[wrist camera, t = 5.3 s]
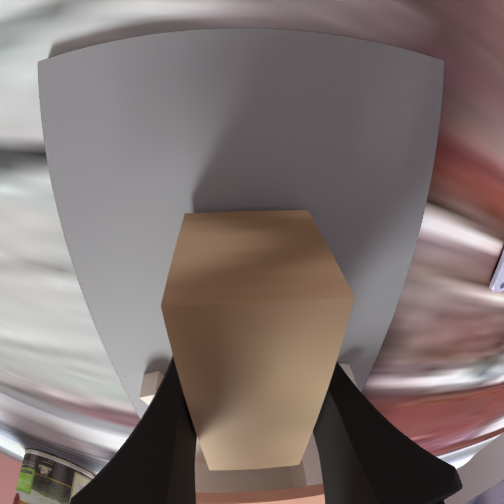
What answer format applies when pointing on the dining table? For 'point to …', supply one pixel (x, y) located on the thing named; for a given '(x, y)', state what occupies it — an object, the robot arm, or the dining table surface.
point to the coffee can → (49, 479)
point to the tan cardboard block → (254, 332)
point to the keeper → (237, 183)
